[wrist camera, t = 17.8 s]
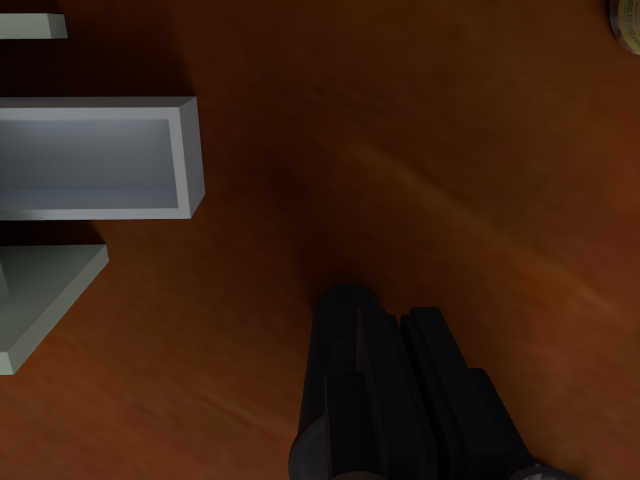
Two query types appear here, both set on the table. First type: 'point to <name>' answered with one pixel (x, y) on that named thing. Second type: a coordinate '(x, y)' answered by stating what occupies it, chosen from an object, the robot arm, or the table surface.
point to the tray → (99, 158)
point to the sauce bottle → (626, 23)
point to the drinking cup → (324, 356)
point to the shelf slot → (39, 251)
